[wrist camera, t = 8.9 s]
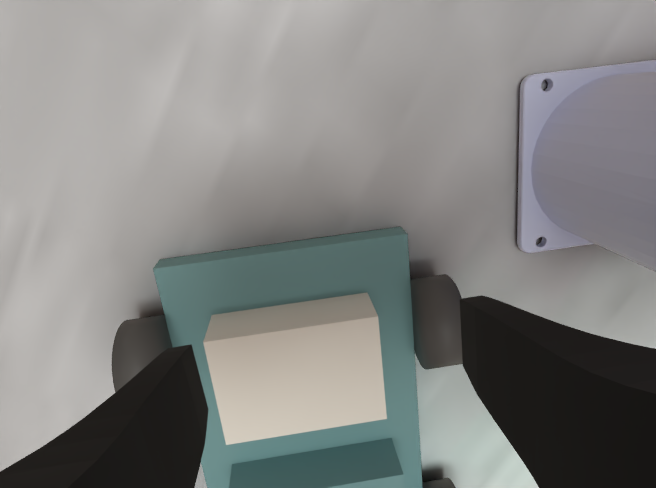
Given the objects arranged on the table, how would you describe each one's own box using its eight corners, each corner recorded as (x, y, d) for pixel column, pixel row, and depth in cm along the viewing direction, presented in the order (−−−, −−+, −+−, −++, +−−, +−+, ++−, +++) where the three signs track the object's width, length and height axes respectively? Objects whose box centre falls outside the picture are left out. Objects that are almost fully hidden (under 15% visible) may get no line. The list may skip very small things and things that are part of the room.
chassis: (434, 222, 21) (467, 248, 17) (446, 540, 27) (473, 611, 24) (123, 264, 20) (88, 302, 17) (209, 583, 27) (197, 664, 23)
